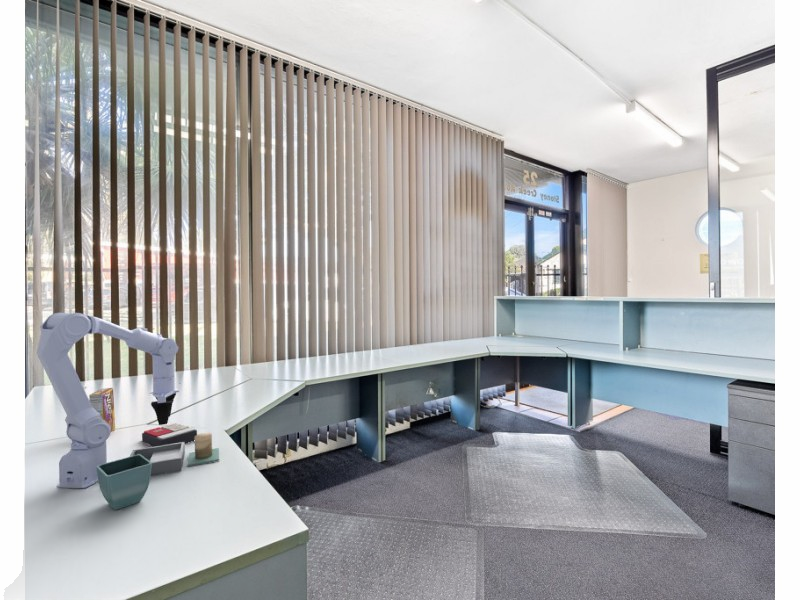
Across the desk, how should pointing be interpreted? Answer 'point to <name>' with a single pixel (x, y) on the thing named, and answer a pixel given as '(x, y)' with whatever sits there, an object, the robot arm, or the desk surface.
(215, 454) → the mat
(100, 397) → the candy box
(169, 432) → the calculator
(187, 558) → the desk surface
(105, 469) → the flower pot
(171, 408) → the robot arm
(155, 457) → the organiser box
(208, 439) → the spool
